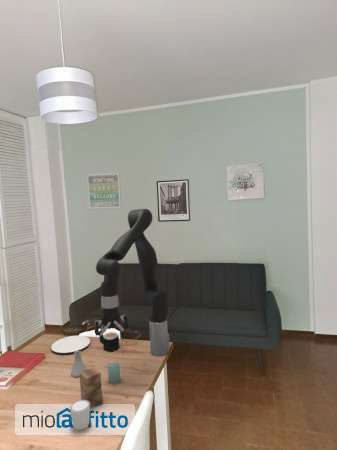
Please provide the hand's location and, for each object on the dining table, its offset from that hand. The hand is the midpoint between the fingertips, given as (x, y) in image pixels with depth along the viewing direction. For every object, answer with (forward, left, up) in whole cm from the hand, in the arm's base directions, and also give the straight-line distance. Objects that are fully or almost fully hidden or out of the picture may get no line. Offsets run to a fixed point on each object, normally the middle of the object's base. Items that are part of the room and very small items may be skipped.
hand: (112, 341), depth 136 cm
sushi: (-7, -31, -18) cm, 37 cm away
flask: (+13, -14, -18) cm, 26 cm away
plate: (+12, -45, -18) cm, 50 cm away
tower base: (+12, +10, -18) cm, 24 cm away
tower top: (+12, +10, -12) cm, 20 cm away
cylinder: (0, 0, -18) cm, 18 cm away
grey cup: (+18, +21, -18) cm, 33 cm away
